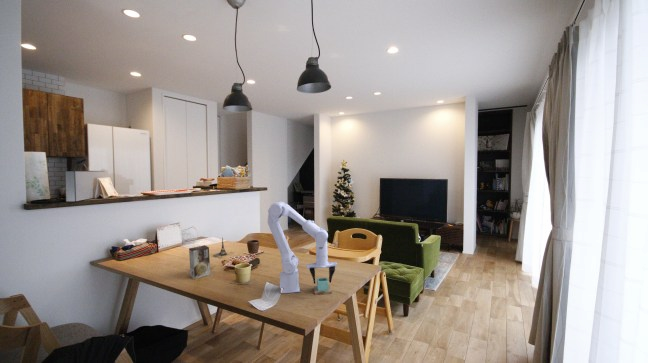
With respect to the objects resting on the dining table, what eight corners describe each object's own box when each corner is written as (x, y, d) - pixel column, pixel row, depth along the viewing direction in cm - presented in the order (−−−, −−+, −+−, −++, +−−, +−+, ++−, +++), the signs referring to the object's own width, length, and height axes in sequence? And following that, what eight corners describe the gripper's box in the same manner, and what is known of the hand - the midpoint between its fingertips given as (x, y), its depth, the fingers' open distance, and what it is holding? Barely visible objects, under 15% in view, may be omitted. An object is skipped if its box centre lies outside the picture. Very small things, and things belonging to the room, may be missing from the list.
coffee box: (206, 272, 169) (204, 244, 168) (210, 274, 164) (209, 246, 164) (189, 276, 163) (188, 248, 162) (194, 279, 158) (193, 250, 157)
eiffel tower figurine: (223, 251, 212) (222, 233, 211) (235, 252, 209) (234, 234, 208) (209, 257, 198) (208, 238, 197) (221, 259, 195) (221, 239, 194)
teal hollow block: (318, 291, 138) (317, 282, 137) (316, 287, 142) (316, 278, 142) (328, 290, 138) (328, 281, 138) (326, 286, 143) (326, 277, 143)
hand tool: (255, 263, 184) (255, 256, 183) (260, 264, 182) (260, 256, 182) (234, 273, 167) (233, 265, 166) (239, 274, 165) (239, 266, 165)
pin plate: (315, 294, 136) (315, 285, 136) (313, 287, 144) (313, 279, 144) (331, 293, 137) (331, 284, 137) (329, 286, 145) (329, 277, 145)
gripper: (307, 258, 135) (308, 286, 135) (338, 256, 137) (338, 284, 137) (306, 253, 142) (307, 281, 142) (335, 252, 144) (335, 279, 144)
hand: (322, 282), depth 140 cm, fingers open, 7 cm apart
